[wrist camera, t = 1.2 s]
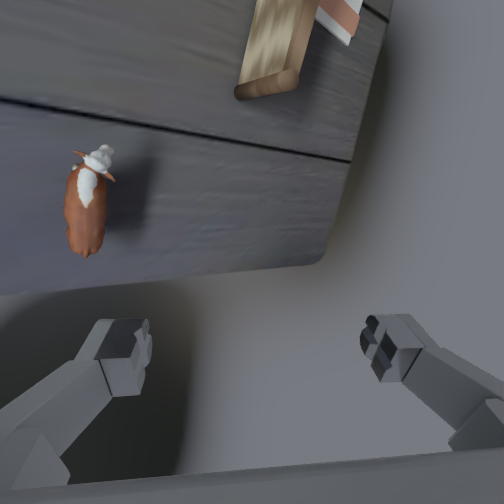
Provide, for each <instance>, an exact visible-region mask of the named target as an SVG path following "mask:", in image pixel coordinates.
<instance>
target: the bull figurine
mask: <svg viewBox="0 0 504 504" xmlns="http://www.w3.org/2000/svg"><path fill="white" fill-rule="evenodd" d="M73 152H74V153H76V154H77V155H79V156H80V157H82V158H83V159H84V160H85V161H83V162H82V163H81V164H80V165H78V164H74V165H73V167H72V169H73V171H72V172H71V173H70V175H69V177H68V179H67V190H66V194H65V199H64V207H63V212H64V216H65V219H66V222H67V224H68V227H67V229H66V237H67V239H68V242H69V246H70V248H71V250H72V251H73V252H74V253H77V254H83V257H84V258H87V257H88V256H89V255H90V254H95V253H96V252H97V251H98V250H99V248H100V247H101V246H102V243H103V238H104V234H105V231H104V224H105V221H106V219H107V196H106V194H107V188H106V181H105V179H104V178H103V177H102V176H101V173H103V174H104V175H105V176H106V177H107V178H109V179H111V180H112V181H114V182H115V179H114V178H113V176H112V175H111V174H110V173H109V171H108V168H109V167H110V166H111V163H112V162H111V157H112V155H113V154H114V150H113V149H112V148H111V147H110V146H109V145H107V144H106V145H102V146H101V147H100V148H99V149H98V150H97V151H93V152H92V153H91V154H90V155H88V154H86V153H84V152H79V151H75V150H73Z"/></svg>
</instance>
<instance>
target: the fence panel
mask: <svg viewBox="0 0 504 504" xmlns="http://www.w3.org/2000/svg"><path fill="white" fill-rule="evenodd" d="M319 2H320V0H257V3H256V8H255V12H254V16H253V21H252V25H251V30H250V34H249V38H248V43H247V47H246V52H245V56H244V61H243V65H242V69H241V74H240V78H239V83H238V85H237V86H236V87H235V89H234V95H235V97H236V99H237V100H239V101H242V100H247V99H252V98H257V97H261V96H266V95H271V94H276V93H281V92H286V91H290V90H294V89H296V88H297V86H298V84H299V73H300V69H301V66H302V62H303V59H304V55H305V51H306V48H307V44H308V41H309V37H310V34H311V30H312V27H313V23H314V19H315V16H316V12H317V9H318V5H319Z"/></svg>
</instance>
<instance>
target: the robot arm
mask: <svg viewBox="0 0 504 504" xmlns="http://www.w3.org/2000/svg"><path fill="white" fill-rule="evenodd" d="M365 323H366V325H367V327H366V328H364V329H363V330H362V331H361V334H360V346H361V349H362V351H363V353H364V355H365V356H366V357H368V358H369V359H370V360H372V361H371V367H372V369H373V371H374V373H375V374H376V376H377V378H378V380H379V382H402V384H403V385H405V386H406V387H407V388H408V389H409V390H410V391H411V392H413V393H414V394H415V395H416V396H417V397H418V398H419V399H421V400H422V401H423V402H424V403H425V404H426V405H427V406H429V407H430V408H431V409H432V410H433V411H434V412H435V413H436V414H438V415H439V416H440V417H441V418H442V419H443V420H444V421H446V422H447V423H448V424H449V425H450V426H451V427H452V428H454V429H455V430H456V432H455V433H454V434H453V435H452V436H451V437H450V438H449V441H448V444H449V446H450V447H451V449H452V450H453V451H451V452H439V453H428V454H416V455H405V456H395V457H394V456H393V457H382V458H371V459H359V460H348V461H336V462H325V463H313V464H302V465H291V466H281V467H280V466H279V467H268V468H257V469H246V470H235V471H234V470H233V471H224V472H211V473H201V474H200V473H199V474H188V475H177V476H165V477H154V478H143V479H131V480H121V481H109V482H98V483H86V484H75V485H67V482H68V480H69V477H70V474H69V471H68V469H67V468H66V466H65V465H64V464H63V462H62V461H61V460H60V458H59V457H60V456H61V455H62V453H63V452H64V451H65V450H66V449H67V448H68V447H69V446H70V445H71V443H72V442H73V441H74V440H75V439H76V438H77V437H78V436H79V435H80V433H81V432H82V431H83V430H84V429H85V428H86V427H87V426H88V425H89V423H90V422H91V421H92V420H93V419H94V418H95V417H96V416H97V415H98V413H99V412H100V411H101V410H102V409H103V408H104V407H105V406H106V405H107V403H108V402H109V401H110V400H111V399H112V397H116V396H130V395H140V392H141V389H142V385H143V382H144V379H145V372H144V367H146V366H147V365H148V364H149V361H150V357H151V350H152V339H151V335H149V334H148V333H147V332H148V329H149V323H148V320H146V319H100V320H99V321H97V322H96V324H95V325H94V327H93V329H92V331H91V332H90V334H89V336H88V337H87V339H86V341H85V342H84V344H83V346H82V348H81V349H80V351H79V353H78V354H77V356H76V358H75V359H74V361H68V362H67V363H65V364H64V365H62V366H61V367H59V368H58V369H57V370H55V371H54V372H52V373H51V374H50V375H48V376H47V377H45V378H44V379H43V380H41V381H40V382H38V383H37V384H36V385H34V386H33V387H32V388H30V389H29V390H27V391H26V392H24V393H23V394H22V395H20V396H19V397H18V398H16V399H15V400H13V401H12V402H10V403H9V404H8V405H6V406H5V407H3V408H2V409H1V410H0V504H504V382H503V381H501V380H499V379H497V378H496V377H494V376H492V375H490V374H489V373H487V372H485V371H484V370H482V369H480V368H478V367H477V366H475V365H473V364H471V363H470V362H468V361H466V360H464V359H463V358H461V357H459V356H458V355H456V354H454V353H452V352H451V351H449V350H447V349H445V348H440V347H439V346H438V345H437V344H436V342H435V341H434V340H433V339H432V338H431V337H430V336H429V335H428V333H427V332H426V331H425V330H424V329H423V328H422V327H421V326H420V324H419V323H418V322H417V321H416V320H415V319H414V318H413V317H412V316H411V315H409V314H381V315H369V316H368V317H367V319H366V321H365Z"/></svg>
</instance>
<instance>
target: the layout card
mask: <svg viewBox="0 0 504 504" xmlns="http://www.w3.org/2000/svg"><path fill="white" fill-rule="evenodd" d="M362 2H363V0H320V2H319V5H318V9H317V12H316V16H315V20H317V21H318V22H319V23H320V24H321V25H322V26H324V27H325V28H326V29H327V30H328V31H329V32H330V33H332V34H333V35H334V36H335V37H336V38H337V39H339V40H340V41H341V42H342V43H343V44H344V45H346V46H348V45H349V42H350V39H351V36H352V37H354V34H355V31H356V28H357V25H358V22H359V19H360V16H359V15H358V14H359V11H360V8H361V5H362Z"/></svg>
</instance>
